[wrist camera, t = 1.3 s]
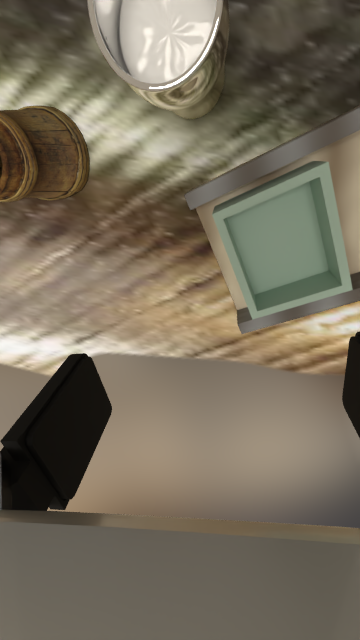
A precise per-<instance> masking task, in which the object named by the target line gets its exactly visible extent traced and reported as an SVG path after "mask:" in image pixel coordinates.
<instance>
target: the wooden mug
mask: <svg viewBox="0 0 360 640" xmlns="http://www.w3.org/2000/svg"><path fill="white" fill-rule="evenodd" d="M88 173H89V155H88V150H87V145H86V143H85V141H84V138H83V136H82V134H81V132H80V131H79V129H78V128H77V126H76V125H75V123H74V122H73V121H72V120H71V119H70V118H69V117H68V116H67V115H66V114H65V113H63V112H61V111H60V110H58V109H56V108H54V107H48V106H28V107H23V108H21V109H18V110H2V111H0V202H12V201H18V200H20V199H22V198H24V197H26V198H40V199H44V200H56V199H63V198H67V197H69V196H72V195H74V194H76V193H77V192H79V191H81V190H82V188H83V187H84V185H85V183H86V182H87V179H88Z"/></svg>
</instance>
